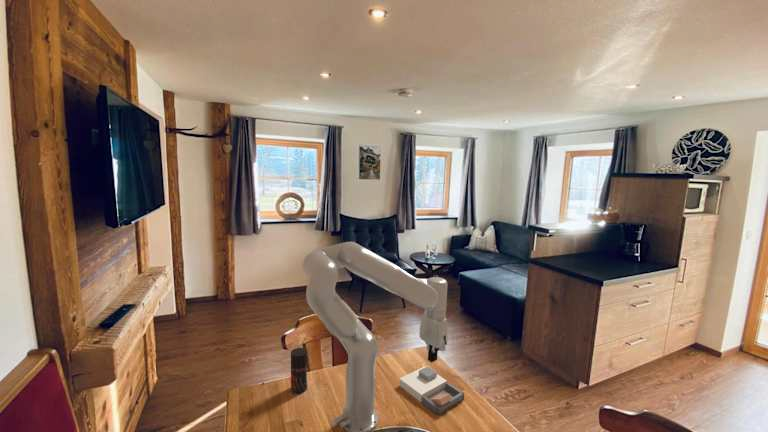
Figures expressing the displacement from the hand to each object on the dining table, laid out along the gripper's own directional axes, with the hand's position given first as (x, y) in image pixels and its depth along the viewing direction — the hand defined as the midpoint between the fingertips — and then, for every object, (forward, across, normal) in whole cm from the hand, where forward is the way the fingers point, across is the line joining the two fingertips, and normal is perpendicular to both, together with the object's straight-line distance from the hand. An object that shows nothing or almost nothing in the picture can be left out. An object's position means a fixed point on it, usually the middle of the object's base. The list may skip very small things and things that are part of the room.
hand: (432, 360), depth 124 cm
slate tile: (+12, -7, +5) cm, 15 cm away
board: (+15, -6, +2) cm, 17 cm away
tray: (+15, +4, +3) cm, 16 cm away
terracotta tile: (+12, +5, 0) cm, 12 cm away
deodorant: (+15, -33, -37) cm, 52 cm away
